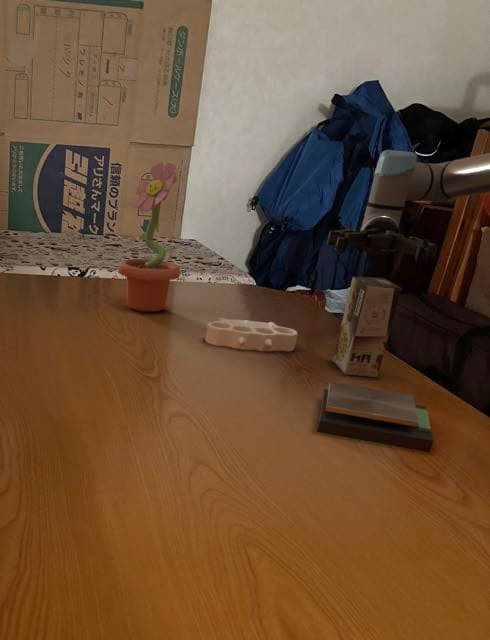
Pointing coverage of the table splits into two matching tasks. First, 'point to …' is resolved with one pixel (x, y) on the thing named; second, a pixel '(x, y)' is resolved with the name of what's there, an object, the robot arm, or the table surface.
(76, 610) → the table surface
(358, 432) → the scale
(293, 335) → the knuckle duster
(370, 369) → the coffee box
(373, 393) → the scale pan
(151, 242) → the decorative flower
